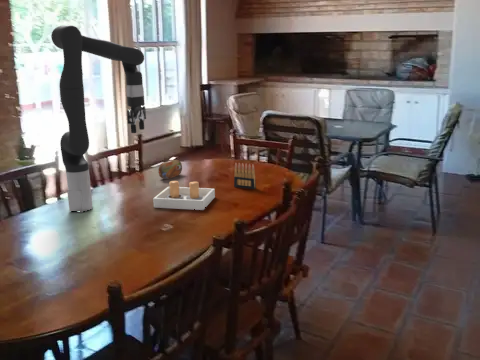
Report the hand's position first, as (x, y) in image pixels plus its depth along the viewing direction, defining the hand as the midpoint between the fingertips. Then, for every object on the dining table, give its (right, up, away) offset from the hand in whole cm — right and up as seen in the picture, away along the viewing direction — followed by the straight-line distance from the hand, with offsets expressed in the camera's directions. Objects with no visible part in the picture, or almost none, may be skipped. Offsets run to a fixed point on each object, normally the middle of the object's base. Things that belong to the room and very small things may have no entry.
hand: (137, 131), depth 245 cm
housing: (+22, -32, -8) cm, 39 cm away
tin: (+10, -21, +34) cm, 41 cm away
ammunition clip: (+48, -26, +12) cm, 56 cm away
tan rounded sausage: (+18, -31, -7) cm, 36 cm away
